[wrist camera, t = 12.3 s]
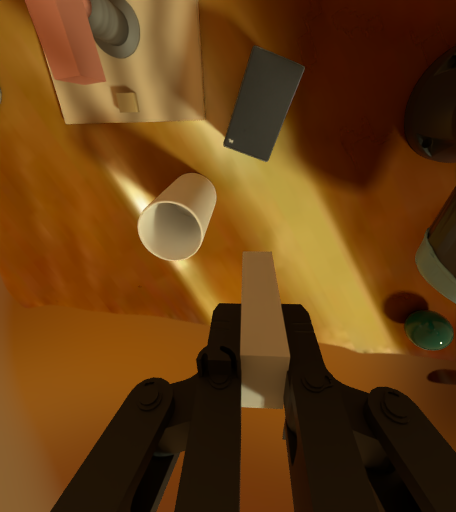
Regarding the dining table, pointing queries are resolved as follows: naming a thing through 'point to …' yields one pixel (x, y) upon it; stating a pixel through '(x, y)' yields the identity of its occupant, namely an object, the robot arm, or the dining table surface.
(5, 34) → the dining table surface
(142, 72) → the post board
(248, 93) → the small box
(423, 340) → the sphere
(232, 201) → the dining table surface
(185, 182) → the cup
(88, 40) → the pink rectangular block
